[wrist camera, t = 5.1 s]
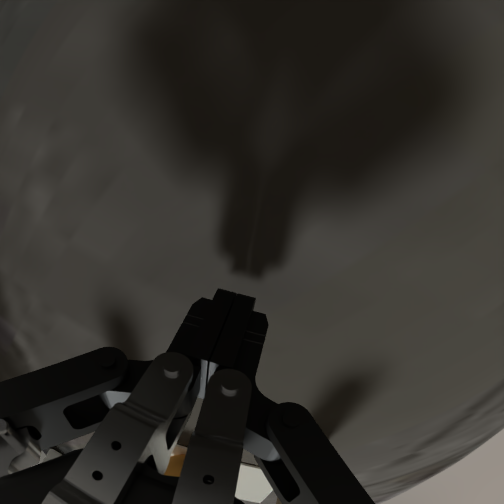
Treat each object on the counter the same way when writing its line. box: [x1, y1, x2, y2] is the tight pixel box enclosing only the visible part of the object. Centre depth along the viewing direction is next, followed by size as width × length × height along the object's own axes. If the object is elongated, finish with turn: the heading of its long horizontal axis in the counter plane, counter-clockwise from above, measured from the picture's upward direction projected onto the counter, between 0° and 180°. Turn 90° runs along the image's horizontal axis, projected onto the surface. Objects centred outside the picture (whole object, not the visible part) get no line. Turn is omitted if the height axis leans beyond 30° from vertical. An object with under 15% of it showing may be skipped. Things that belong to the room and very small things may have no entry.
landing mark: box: [171, 444, 273, 503], centre depth 28 cm, size 14×14×1 cm
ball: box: [164, 454, 185, 477], centre depth 23 cm, size 6×6×6 cm
